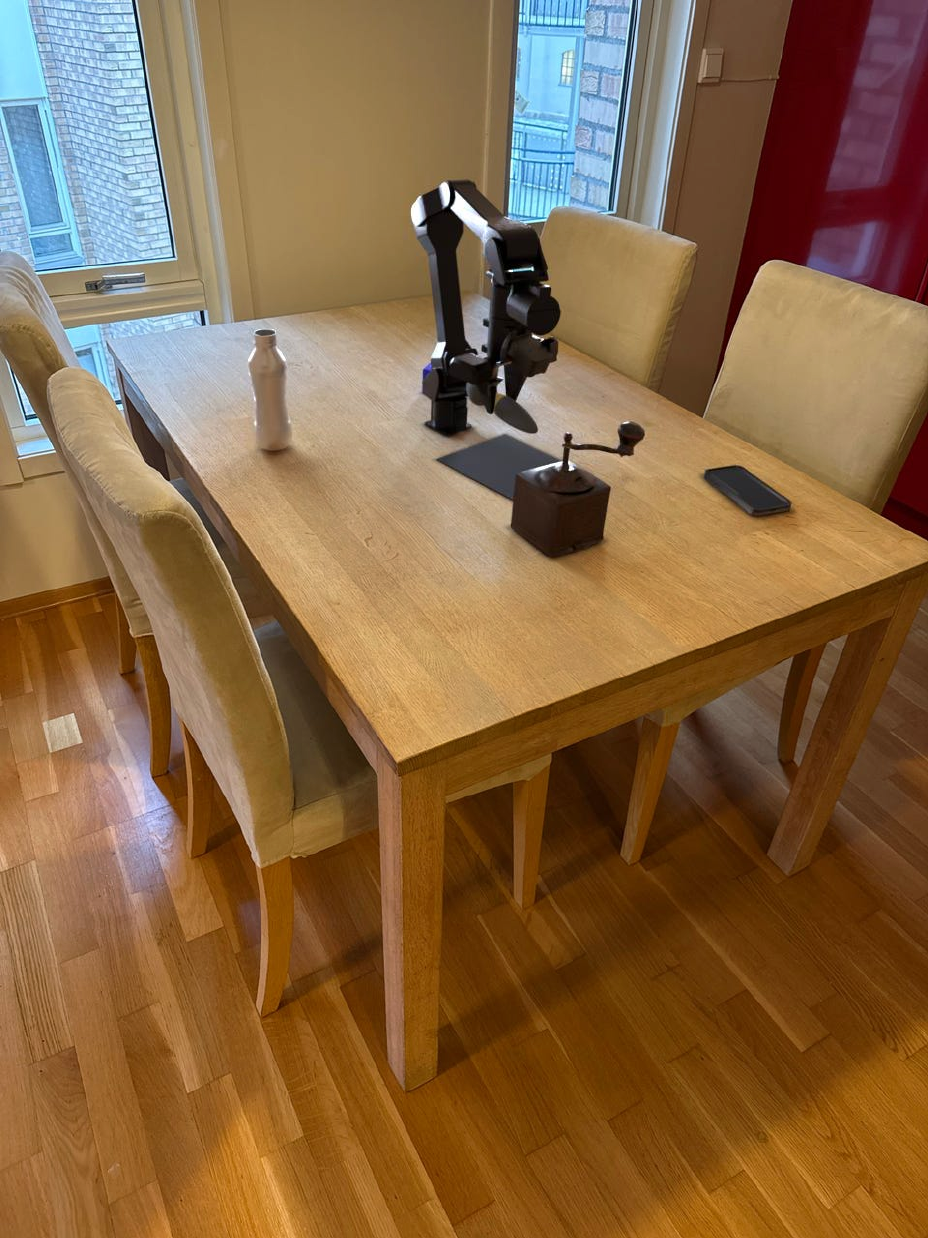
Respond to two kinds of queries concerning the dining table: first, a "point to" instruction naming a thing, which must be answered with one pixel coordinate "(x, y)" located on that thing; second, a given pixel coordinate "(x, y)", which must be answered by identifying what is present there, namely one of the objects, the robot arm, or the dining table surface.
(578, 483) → the manual coffee grinder
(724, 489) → the phone
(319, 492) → the dining table surface
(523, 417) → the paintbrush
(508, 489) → the mat
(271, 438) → the plastic bottle
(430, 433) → the dining table surface
